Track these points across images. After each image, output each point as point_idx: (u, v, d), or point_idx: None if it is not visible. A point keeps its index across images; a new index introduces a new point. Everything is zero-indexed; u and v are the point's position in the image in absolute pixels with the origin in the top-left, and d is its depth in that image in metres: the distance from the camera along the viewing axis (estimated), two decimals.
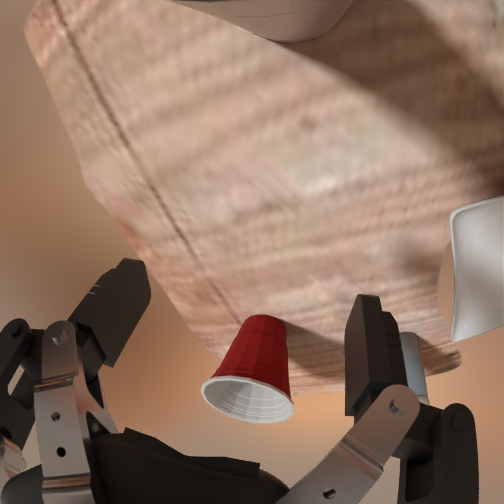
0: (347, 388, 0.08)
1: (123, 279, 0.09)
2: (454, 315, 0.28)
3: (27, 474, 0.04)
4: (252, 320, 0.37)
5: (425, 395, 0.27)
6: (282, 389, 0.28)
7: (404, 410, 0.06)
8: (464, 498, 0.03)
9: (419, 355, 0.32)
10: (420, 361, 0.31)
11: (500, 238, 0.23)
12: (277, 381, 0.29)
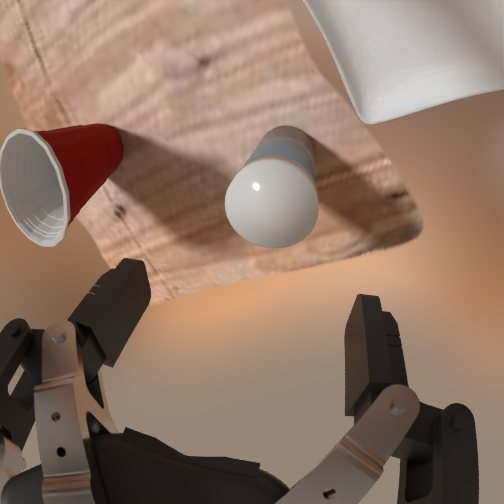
0: (347, 388, 0.08)
1: (123, 279, 0.09)
2: (334, 54, 0.17)
3: (27, 474, 0.04)
4: None
5: (298, 163, 0.16)
6: (51, 145, 0.17)
7: (404, 410, 0.06)
8: (464, 498, 0.03)
9: (302, 140, 0.21)
10: (301, 143, 0.20)
11: None
12: (52, 140, 0.18)
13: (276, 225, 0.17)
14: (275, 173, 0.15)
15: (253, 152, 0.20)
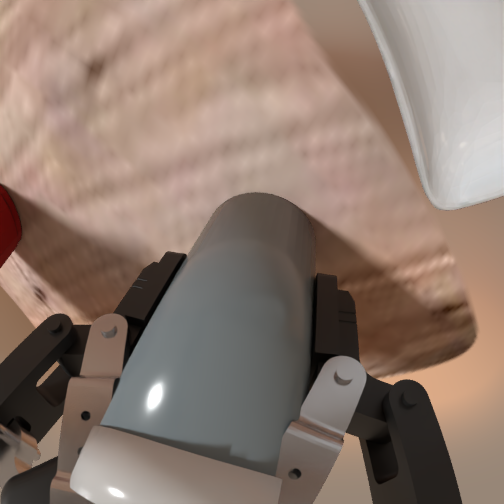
0: None
1: (170, 272, 0.10)
2: (376, 25, 0.05)
3: (27, 474, 0.04)
4: None
5: (246, 455, 0.04)
6: None
7: (348, 381, 0.06)
8: (436, 472, 0.04)
9: (286, 256, 0.09)
10: (282, 274, 0.08)
11: None
12: None
13: None
14: None
15: (157, 307, 0.08)
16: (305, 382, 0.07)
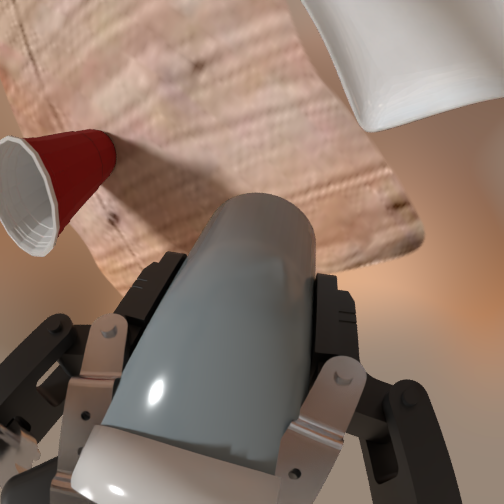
0: None
1: (170, 272, 0.10)
2: (333, 58, 0.17)
3: (27, 474, 0.04)
4: None
5: (246, 454, 0.04)
6: (39, 153, 0.16)
7: (348, 381, 0.06)
8: (436, 472, 0.04)
9: (286, 256, 0.09)
10: (282, 274, 0.08)
11: None
12: (41, 148, 0.17)
13: None
14: None
15: (158, 307, 0.08)
16: (305, 382, 0.07)
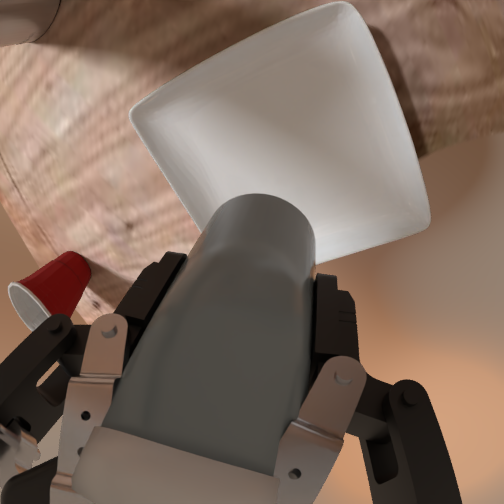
0: None
1: (170, 272, 0.10)
2: None
3: (27, 474, 0.04)
4: (61, 255, 0.37)
5: (246, 456, 0.04)
6: (41, 299, 0.28)
7: (348, 380, 0.06)
8: (436, 472, 0.04)
9: (286, 257, 0.09)
10: (281, 275, 0.08)
11: (237, 133, 0.24)
12: (41, 292, 0.29)
13: None
14: None
15: (157, 308, 0.08)
16: (305, 383, 0.07)
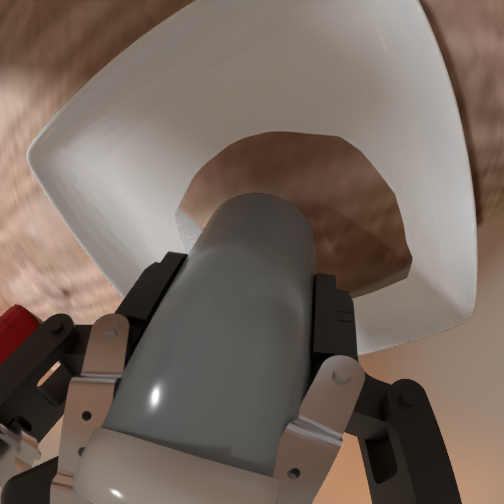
0: None
1: (172, 272, 0.10)
2: None
3: (27, 474, 0.04)
4: None
5: (246, 457, 0.04)
6: None
7: (346, 380, 0.06)
8: (435, 471, 0.04)
9: (286, 257, 0.09)
10: (282, 276, 0.08)
11: (178, 179, 0.15)
12: None
13: None
14: None
15: (157, 309, 0.08)
16: (305, 384, 0.07)
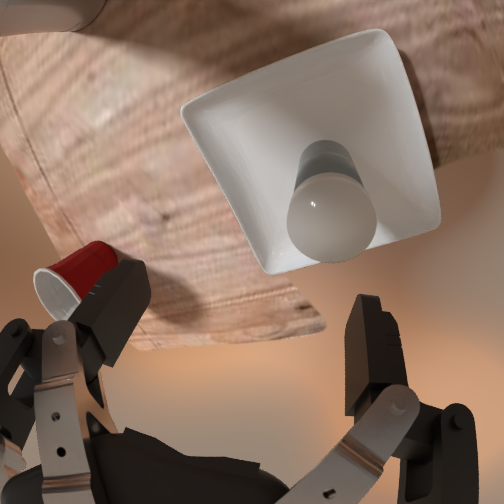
0: (347, 388, 0.08)
1: (123, 279, 0.09)
2: (244, 232, 0.32)
3: (27, 474, 0.04)
4: (88, 244, 0.40)
5: None
6: (72, 285, 0.31)
7: (404, 410, 0.06)
8: (464, 498, 0.03)
9: (348, 157, 0.21)
10: (349, 160, 0.21)
11: (279, 136, 0.27)
12: (72, 279, 0.31)
13: (334, 241, 0.17)
14: (342, 191, 0.15)
15: (304, 165, 0.20)
16: None
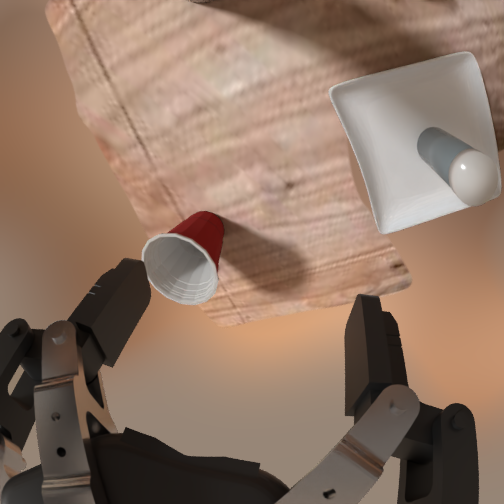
0: (347, 388, 0.08)
1: (123, 279, 0.09)
2: (370, 196, 0.35)
3: (27, 474, 0.04)
4: (194, 214, 0.44)
5: None
6: (204, 248, 0.35)
7: (404, 410, 0.06)
8: (464, 498, 0.03)
9: None
10: None
11: (398, 121, 0.31)
12: (201, 243, 0.35)
13: (477, 191, 0.20)
14: (484, 160, 0.19)
15: (442, 143, 0.24)
16: None
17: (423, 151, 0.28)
